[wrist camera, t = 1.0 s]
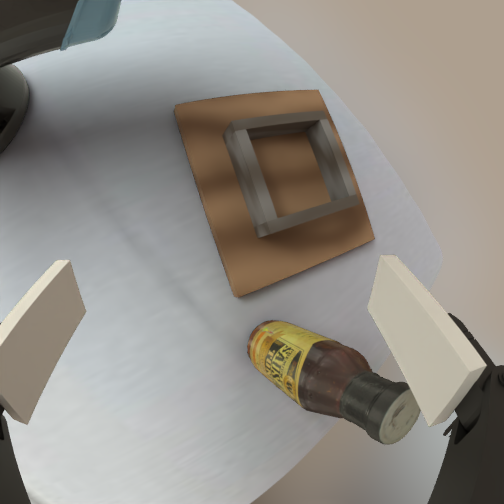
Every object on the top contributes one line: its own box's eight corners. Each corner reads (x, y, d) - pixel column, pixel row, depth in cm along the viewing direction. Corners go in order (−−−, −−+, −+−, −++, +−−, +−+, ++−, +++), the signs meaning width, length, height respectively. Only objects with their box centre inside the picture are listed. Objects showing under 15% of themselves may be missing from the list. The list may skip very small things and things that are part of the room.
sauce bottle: (240, 324, 31) (366, 384, 12) (291, 313, 33) (437, 345, 15) (248, 378, 31) (362, 474, 12) (297, 365, 33) (428, 429, 14)
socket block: (173, 111, 30) (179, 87, 25) (313, 94, 37) (331, 77, 32) (234, 296, 31) (249, 300, 26) (367, 239, 38) (393, 236, 33)
